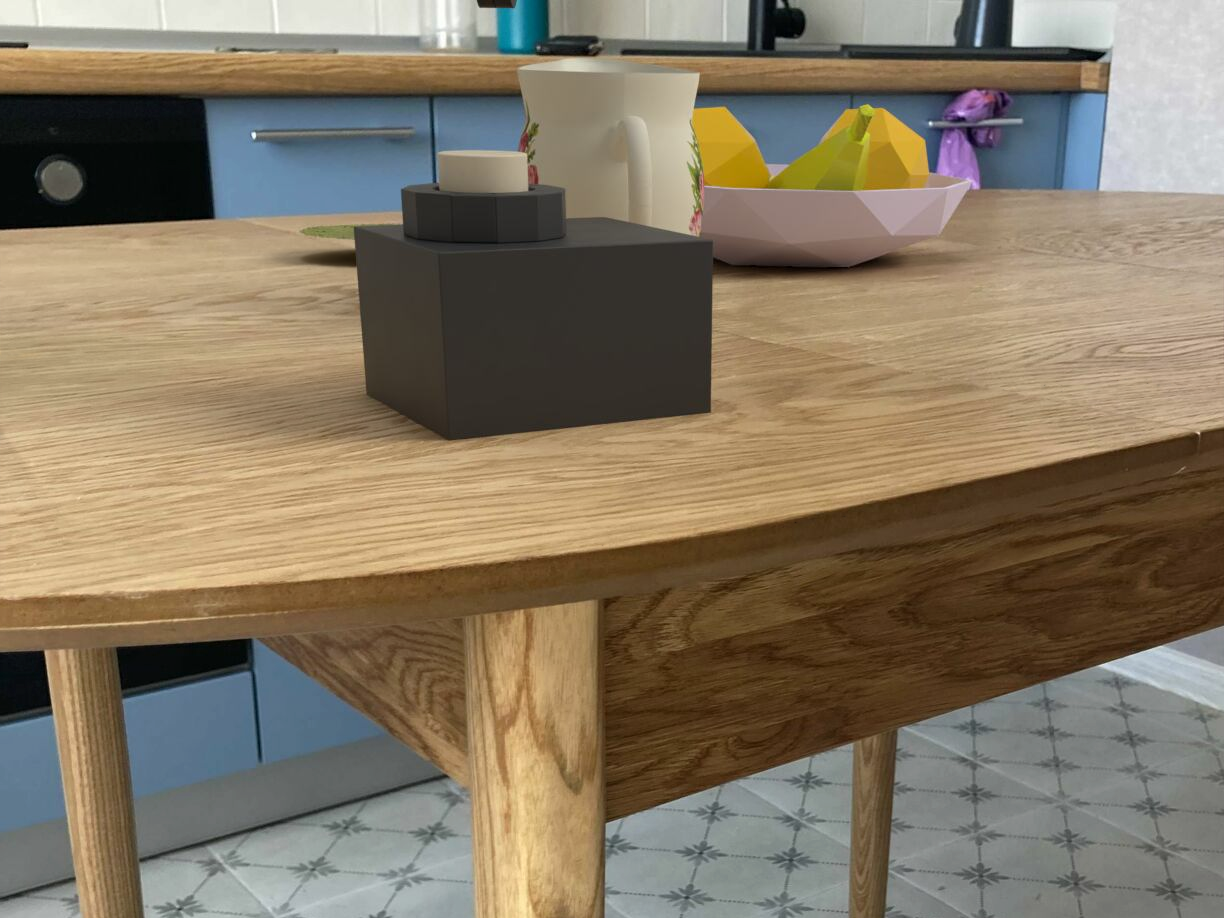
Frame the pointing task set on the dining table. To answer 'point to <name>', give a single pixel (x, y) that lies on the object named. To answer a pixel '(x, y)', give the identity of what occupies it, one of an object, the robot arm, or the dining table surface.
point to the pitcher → (615, 140)
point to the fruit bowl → (820, 193)
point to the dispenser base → (531, 315)
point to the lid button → (482, 171)
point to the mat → (335, 231)
